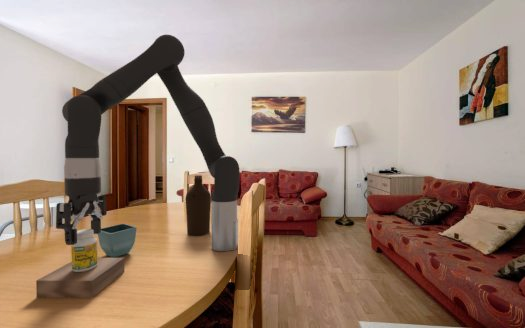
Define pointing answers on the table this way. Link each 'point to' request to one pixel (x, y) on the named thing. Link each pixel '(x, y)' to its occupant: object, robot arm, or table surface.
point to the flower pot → (117, 239)
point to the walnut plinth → (79, 280)
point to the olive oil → (198, 208)
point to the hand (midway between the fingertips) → (84, 238)
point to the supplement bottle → (84, 251)
